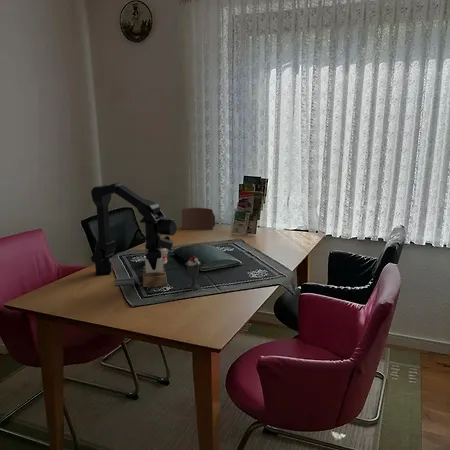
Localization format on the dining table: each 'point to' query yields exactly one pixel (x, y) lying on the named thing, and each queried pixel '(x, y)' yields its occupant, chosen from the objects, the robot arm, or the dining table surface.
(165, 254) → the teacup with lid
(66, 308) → the dining table surface
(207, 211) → the letter holder
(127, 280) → the rails
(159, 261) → the upright white panel
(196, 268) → the sundae
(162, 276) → the rack
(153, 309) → the dining table surface
